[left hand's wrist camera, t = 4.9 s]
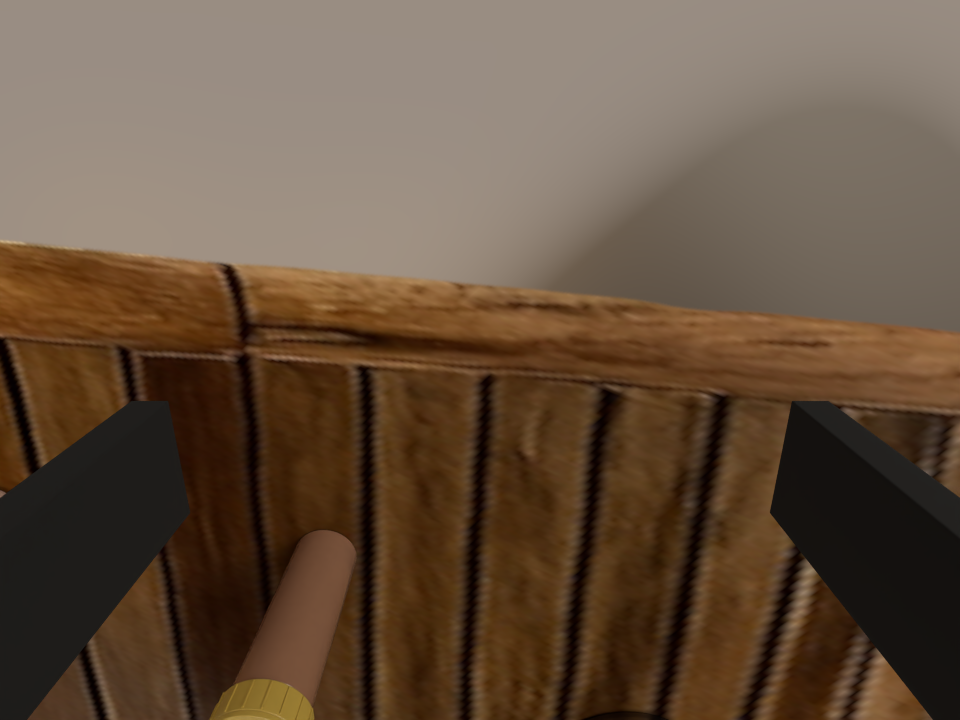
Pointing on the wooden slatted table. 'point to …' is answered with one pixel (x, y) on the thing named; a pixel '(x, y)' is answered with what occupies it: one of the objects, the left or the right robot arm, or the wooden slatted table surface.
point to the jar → (303, 615)
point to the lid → (262, 702)
